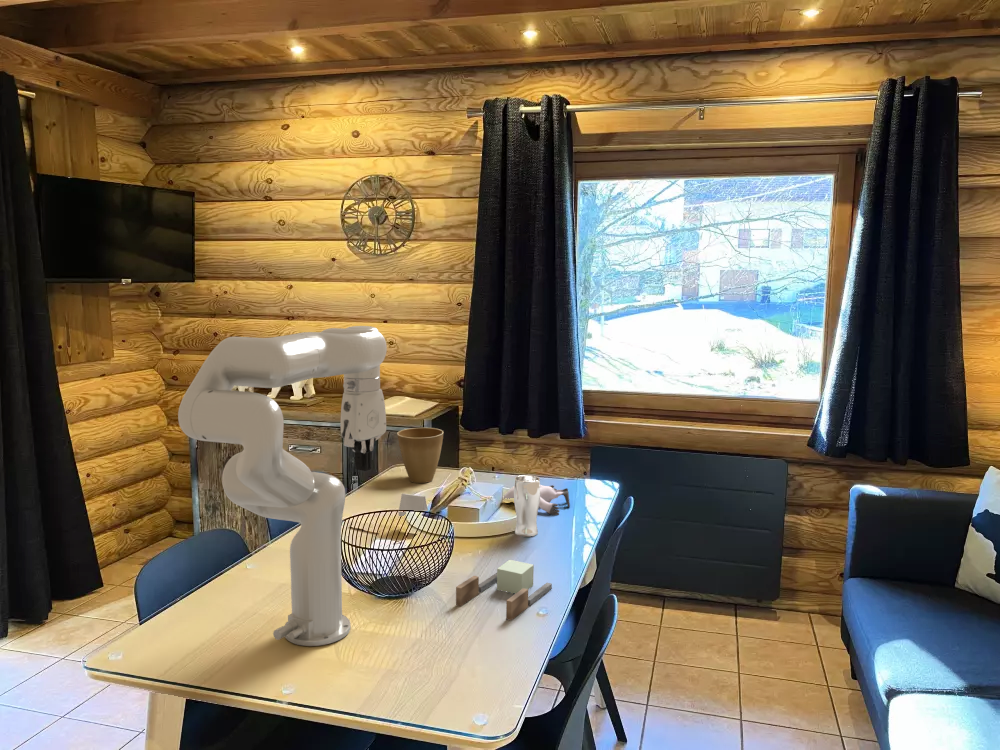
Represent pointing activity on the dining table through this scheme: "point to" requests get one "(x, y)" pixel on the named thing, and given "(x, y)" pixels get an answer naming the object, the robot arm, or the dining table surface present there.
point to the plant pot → (420, 452)
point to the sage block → (514, 576)
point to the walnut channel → (471, 590)
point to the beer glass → (526, 504)
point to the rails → (531, 598)
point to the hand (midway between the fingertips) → (363, 469)
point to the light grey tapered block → (412, 503)
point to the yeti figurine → (546, 498)
